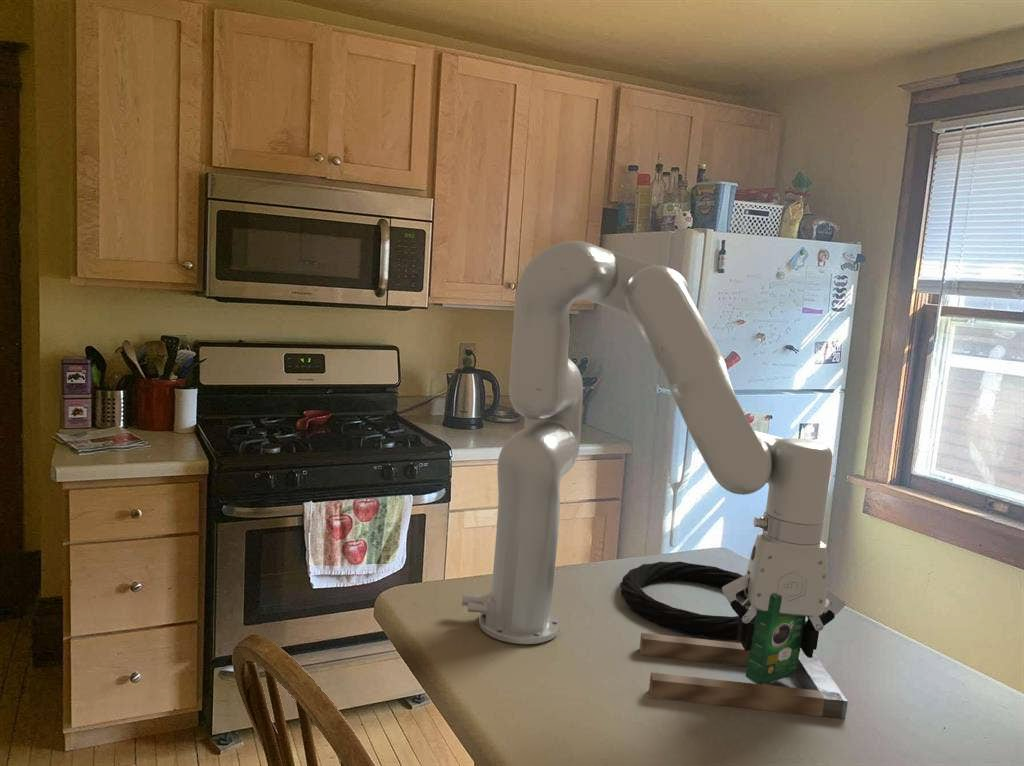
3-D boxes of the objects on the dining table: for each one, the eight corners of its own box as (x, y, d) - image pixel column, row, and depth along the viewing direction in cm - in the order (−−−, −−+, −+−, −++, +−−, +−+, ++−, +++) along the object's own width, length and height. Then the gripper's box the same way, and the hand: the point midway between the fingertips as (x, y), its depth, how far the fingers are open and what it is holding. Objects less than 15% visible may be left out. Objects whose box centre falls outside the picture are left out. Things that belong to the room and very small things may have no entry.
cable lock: (625, 549, 149) (785, 572, 144) (623, 568, 150) (782, 592, 144) (616, 605, 122) (812, 636, 117) (613, 627, 123) (808, 659, 117)
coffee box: (781, 665, 111) (795, 580, 109) (797, 675, 108) (813, 588, 106) (743, 676, 107) (758, 588, 105) (760, 687, 104) (775, 596, 102)
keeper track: (650, 697, 101) (652, 679, 101) (639, 648, 115) (641, 632, 115) (845, 718, 100) (847, 701, 100) (810, 666, 114) (812, 650, 114)
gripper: (734, 531, 101) (718, 655, 104) (867, 545, 101) (848, 670, 103) (722, 514, 109) (707, 631, 111) (846, 527, 108) (828, 644, 110)
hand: (775, 649), depth 107 cm, fingers closed on coffee box, 8 cm apart
